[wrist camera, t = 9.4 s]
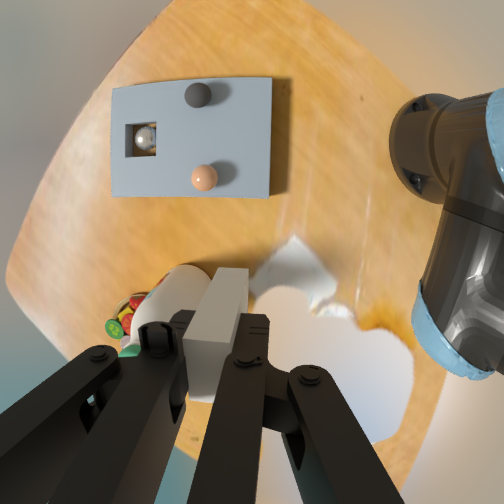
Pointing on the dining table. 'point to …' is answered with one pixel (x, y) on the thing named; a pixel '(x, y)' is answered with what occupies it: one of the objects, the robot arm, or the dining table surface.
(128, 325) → the toy food set
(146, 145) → the steel ball
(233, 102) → the board
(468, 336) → the robot arm
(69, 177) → the dining table surface
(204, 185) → the terracotta ball
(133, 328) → the milk bottle
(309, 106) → the dining table surface
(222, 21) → the dining table surface
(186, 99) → the black ball
